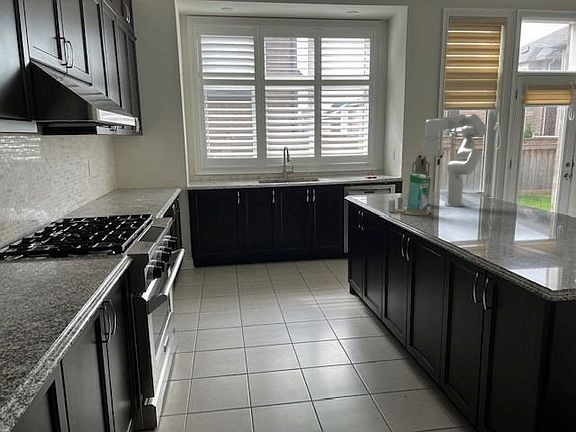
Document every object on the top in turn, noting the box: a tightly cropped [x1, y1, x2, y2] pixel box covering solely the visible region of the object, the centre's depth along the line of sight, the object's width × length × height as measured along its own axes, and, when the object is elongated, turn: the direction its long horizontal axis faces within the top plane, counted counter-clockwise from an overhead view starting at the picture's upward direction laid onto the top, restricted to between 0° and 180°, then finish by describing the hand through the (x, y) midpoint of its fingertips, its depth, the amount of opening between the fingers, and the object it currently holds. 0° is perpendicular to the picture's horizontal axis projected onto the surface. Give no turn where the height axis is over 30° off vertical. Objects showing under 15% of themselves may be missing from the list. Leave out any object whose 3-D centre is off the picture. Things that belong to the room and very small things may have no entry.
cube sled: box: [397, 196, 407, 210], centre depth 298 cm, size 8×15×8 cm, turn 64°
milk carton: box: [406, 173, 431, 211], centre depth 283 cm, size 9×9×25 cm
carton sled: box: [387, 198, 431, 216], centre depth 287 cm, size 14×25×8 cm, turn 64°
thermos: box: [411, 154, 430, 178], centre depth 319 cm, size 9×12×35 cm
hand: (430, 165), depth 290 cm, fingers open, 9 cm apart
